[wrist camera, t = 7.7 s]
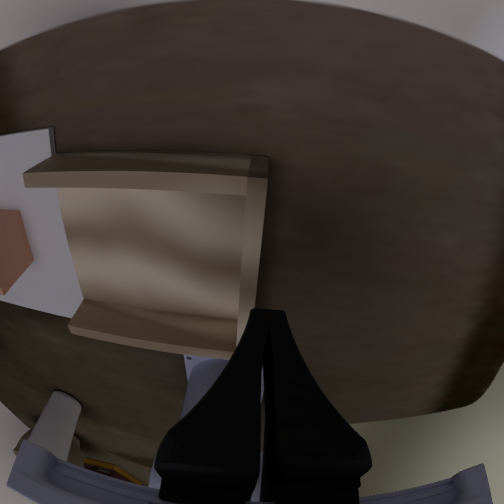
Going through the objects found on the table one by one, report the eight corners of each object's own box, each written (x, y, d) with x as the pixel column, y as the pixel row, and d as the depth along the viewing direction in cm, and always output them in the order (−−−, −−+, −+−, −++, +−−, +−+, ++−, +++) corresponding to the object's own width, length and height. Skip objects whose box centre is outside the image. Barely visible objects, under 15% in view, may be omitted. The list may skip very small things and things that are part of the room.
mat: (94, 318, 27) (92, 322, 27) (0, 296, 27) (-3, 299, 27) (53, 126, 17) (48, 128, 17) (-46, 145, 17) (-50, 147, 17)
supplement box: (115, 464, 57) (101, 517, 44) (143, 482, 65) (133, 528, 52) (83, 456, 59) (69, 505, 46) (113, 476, 67) (102, 519, 54)
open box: (251, 323, 26) (248, 361, 23) (89, 302, 26) (71, 333, 23) (268, 156, 18) (267, 178, 15) (56, 153, 18) (22, 173, 15)
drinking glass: (43, 381, 37) (8, 460, 24) (78, 393, 37) (45, 479, 24) (59, 403, 41) (30, 476, 28) (92, 414, 40) (66, 492, 28)
